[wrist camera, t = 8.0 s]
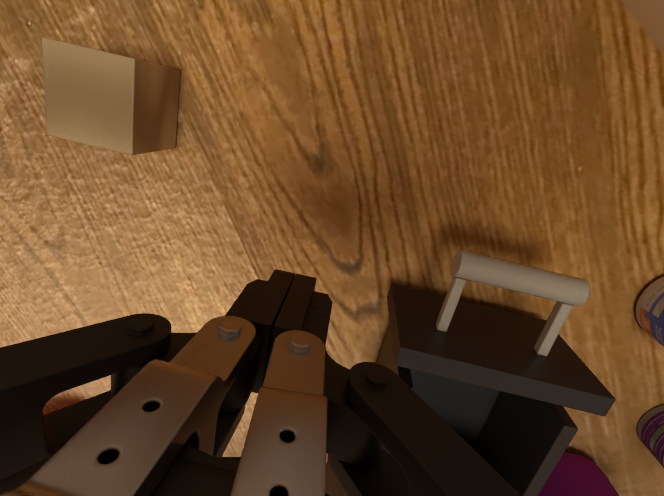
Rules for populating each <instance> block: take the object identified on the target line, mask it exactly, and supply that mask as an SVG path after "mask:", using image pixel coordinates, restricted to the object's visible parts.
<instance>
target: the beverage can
mask: <svg viewBox="0 0 664 496" xmlns="http://www.w3.org/2000/svg"><path fill="white" fill-rule="evenodd" d="M538 496H619V495H618V493H617V492H616V490H615V489H614V487H613V486H612V484H611V483H610V481H609V480H608V478H607V477H606V475H605V474H604V473H603V472H602V470H601V469H600V468H599V467H598V466H597V465H596V464H595V463H593V462H592V461H591V460H589V459H587V458H585V457H583V456H580V455H577V454H572V453H568V452H564V453H563V455H562V456H561V458H560V460H559V461H558V463H557V465H556V466H555V468H554V470H553V471H552V473H551V475H550V476H549V478H548V479H547V481H546V483H545V484H544V486H543V488H542V489H541V491H540V493H539V494H538Z"/></svg>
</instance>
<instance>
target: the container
mask: <svg viewBox="0 0 664 496" xmlns="http://www.w3.org/2000/svg"><path fill="white" fill-rule="evenodd" d="M637 434H638V437H639V438H640V440H641V441H642V442H643V443H644V445H645V446H646V447H647V448H648V449H649V451H650V452H651V453H652V454H653V455H654V457H655V458H656V459H657V460H658V461H659V462H660V464H661V465H662V466H663V467H664V405H660V406H658V407H655V408H653V409H651V410H650V411H648V412H647V413H646V414H645V415H644V416H643V417H642V418H641V419H640V421H639V423H638V426H637Z"/></svg>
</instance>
